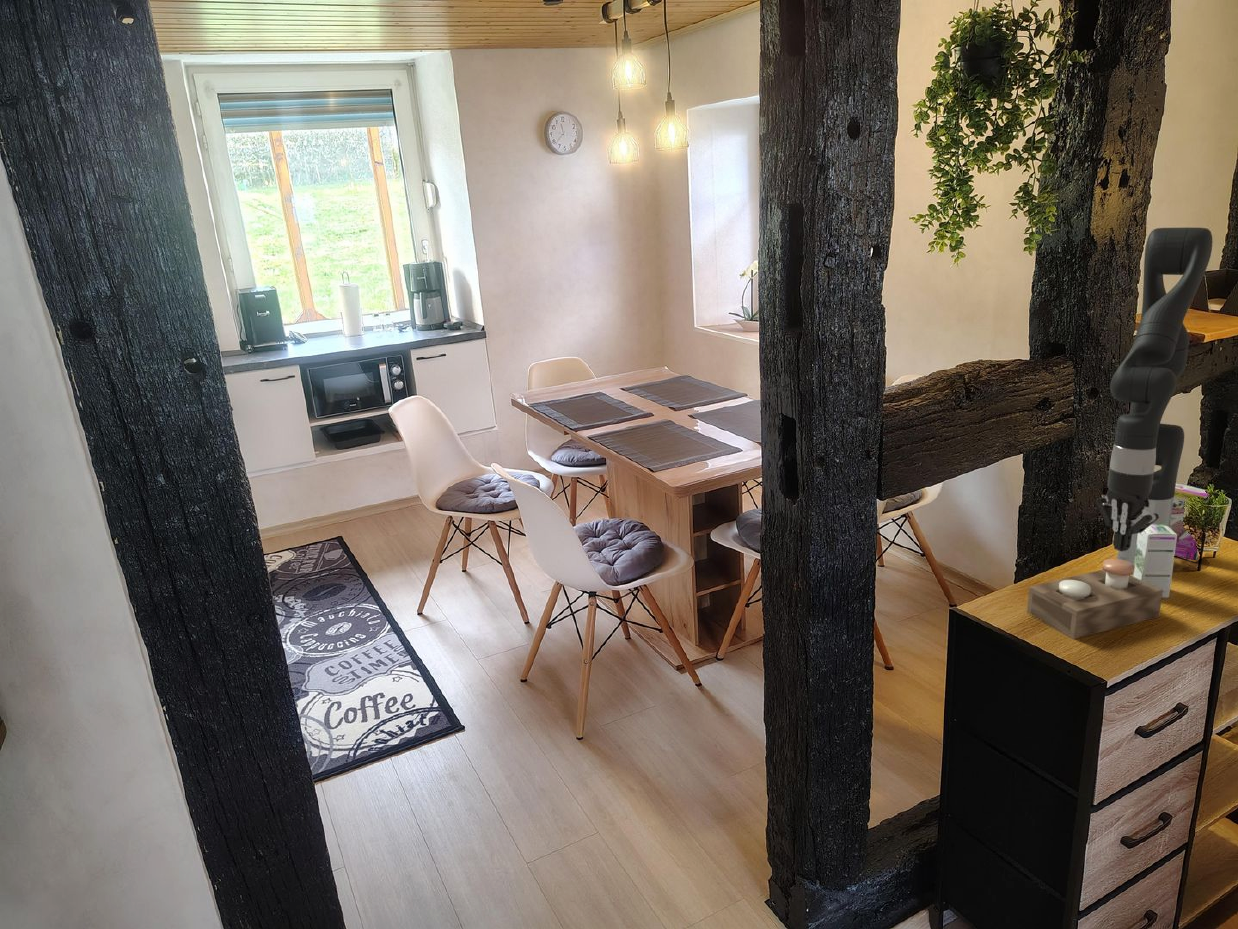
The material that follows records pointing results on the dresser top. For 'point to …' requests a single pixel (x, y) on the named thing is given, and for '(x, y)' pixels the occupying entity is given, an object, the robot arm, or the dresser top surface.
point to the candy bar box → (1184, 539)
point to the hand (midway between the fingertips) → (1120, 549)
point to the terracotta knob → (1117, 573)
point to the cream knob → (1074, 589)
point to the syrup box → (1155, 556)
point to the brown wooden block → (1094, 605)
